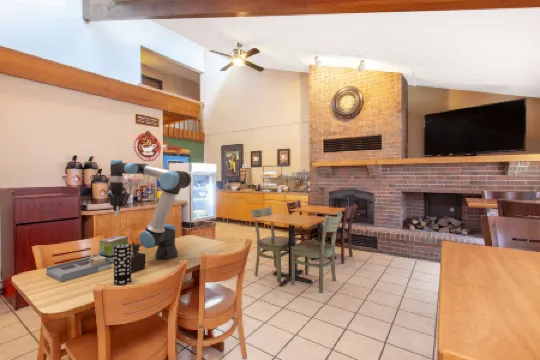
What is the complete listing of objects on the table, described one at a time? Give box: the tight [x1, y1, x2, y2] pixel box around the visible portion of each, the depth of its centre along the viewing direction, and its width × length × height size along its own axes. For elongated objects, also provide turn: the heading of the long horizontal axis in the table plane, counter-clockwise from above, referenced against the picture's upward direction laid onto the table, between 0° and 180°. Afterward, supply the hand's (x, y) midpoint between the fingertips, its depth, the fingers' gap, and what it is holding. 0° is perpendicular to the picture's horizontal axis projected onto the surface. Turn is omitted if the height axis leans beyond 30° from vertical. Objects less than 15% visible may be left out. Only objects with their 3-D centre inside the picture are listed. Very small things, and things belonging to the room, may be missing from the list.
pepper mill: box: [131, 242, 146, 274], centre depth 164 cm, size 16×11×18 cm
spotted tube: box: [113, 243, 132, 286], centre depth 146 cm, size 8×8×20 cm
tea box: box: [98, 235, 129, 264], centre depth 183 cm, size 15×10×15 cm, turn 168°
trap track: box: [45, 253, 112, 283], centre depth 161 cm, size 20×26×6 cm
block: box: [90, 256, 105, 266], centre depth 166 cm, size 6×6×4 cm
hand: (116, 215), depth 188 cm, fingers closed
